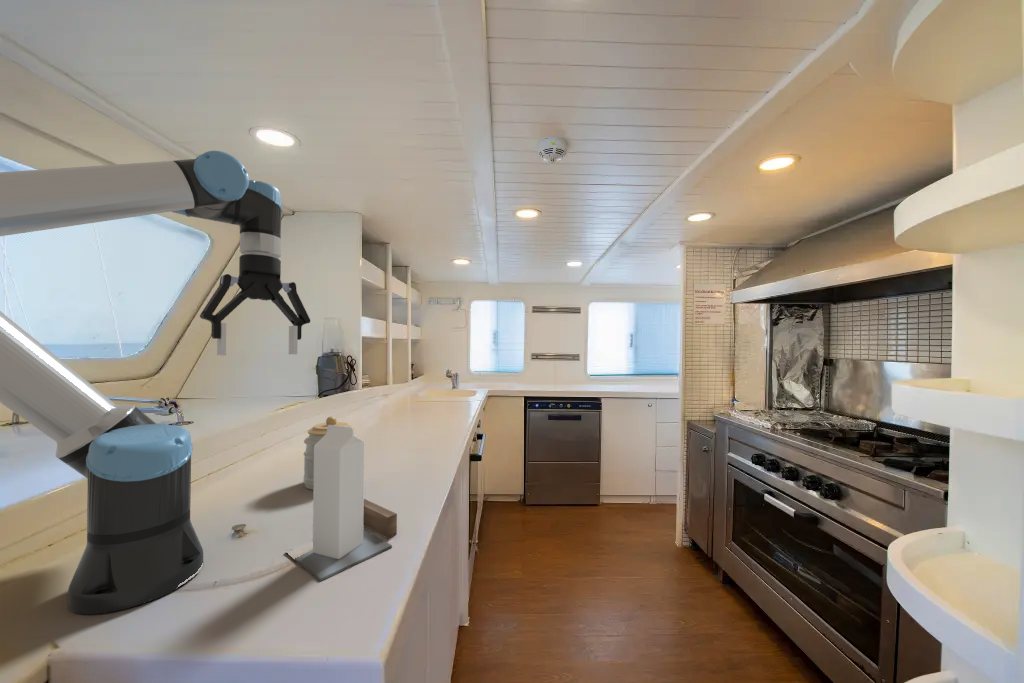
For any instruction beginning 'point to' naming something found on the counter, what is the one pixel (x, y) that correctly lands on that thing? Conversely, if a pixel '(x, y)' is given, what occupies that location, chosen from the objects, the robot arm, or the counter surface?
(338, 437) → the milk
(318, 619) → the counter surface
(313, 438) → the jar
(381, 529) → the guide jig
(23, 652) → the counter surface
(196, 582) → the counter surface
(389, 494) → the counter surface
